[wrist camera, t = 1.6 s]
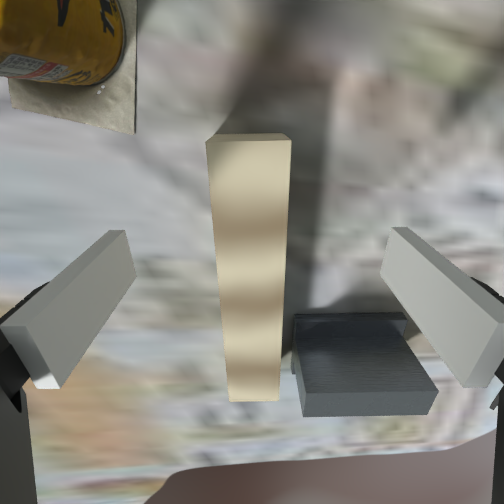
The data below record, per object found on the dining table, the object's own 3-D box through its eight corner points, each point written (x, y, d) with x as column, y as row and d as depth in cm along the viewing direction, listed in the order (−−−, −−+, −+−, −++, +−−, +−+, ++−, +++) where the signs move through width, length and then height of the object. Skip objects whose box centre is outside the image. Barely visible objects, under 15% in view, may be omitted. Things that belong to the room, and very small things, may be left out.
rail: (290, 365, 29) (301, 431, 23) (294, 314, 25) (308, 375, 20) (385, 364, 29) (420, 429, 23) (402, 312, 25) (447, 373, 20)
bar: (274, 359, 29) (278, 400, 25) (232, 360, 29) (229, 401, 25) (282, 132, 18) (291, 140, 14) (214, 133, 18) (205, 141, 14)
